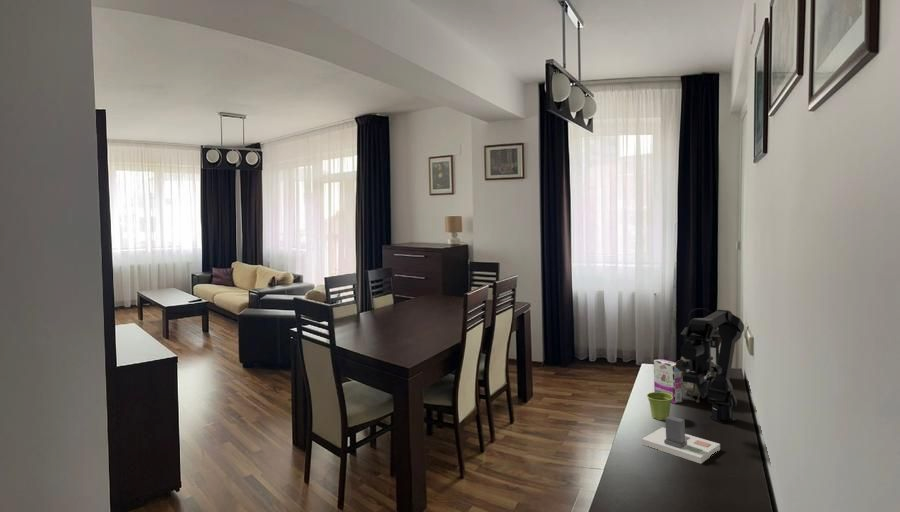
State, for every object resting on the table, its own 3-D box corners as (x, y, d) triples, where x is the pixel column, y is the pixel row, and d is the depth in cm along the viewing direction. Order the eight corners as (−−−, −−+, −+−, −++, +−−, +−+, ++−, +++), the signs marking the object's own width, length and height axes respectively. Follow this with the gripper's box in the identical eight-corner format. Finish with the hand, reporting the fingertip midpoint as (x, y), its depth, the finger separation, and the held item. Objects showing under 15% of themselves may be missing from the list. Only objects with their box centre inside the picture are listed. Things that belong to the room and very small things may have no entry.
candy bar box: (683, 402, 210) (682, 363, 209) (674, 404, 208) (673, 365, 207) (662, 394, 220) (661, 358, 219) (654, 396, 218) (652, 359, 217)
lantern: (725, 376, 240) (724, 305, 238) (722, 387, 225) (721, 311, 223) (686, 372, 249) (684, 303, 247) (681, 382, 235) (679, 309, 233)
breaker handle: (670, 439, 170) (670, 414, 170) (687, 444, 166) (686, 419, 165) (664, 443, 168) (663, 418, 167) (680, 448, 163) (680, 422, 163)
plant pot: (676, 422, 189) (675, 400, 189) (650, 421, 191) (649, 399, 191) (670, 413, 198) (669, 392, 198) (645, 412, 200) (644, 391, 200)
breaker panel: (662, 432, 181) (662, 426, 181) (720, 449, 165) (719, 443, 165) (642, 444, 172) (641, 438, 172) (700, 463, 157) (700, 457, 156)
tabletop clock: (680, 393, 220) (679, 337, 219) (701, 392, 220) (700, 336, 219) (695, 404, 206) (694, 345, 205) (717, 404, 206) (716, 344, 204)
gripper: (691, 345, 190) (692, 385, 191) (667, 355, 179) (668, 398, 179) (722, 350, 182) (722, 392, 182) (698, 360, 170) (699, 405, 171)
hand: (702, 396), depth 179 cm, fingers closed
